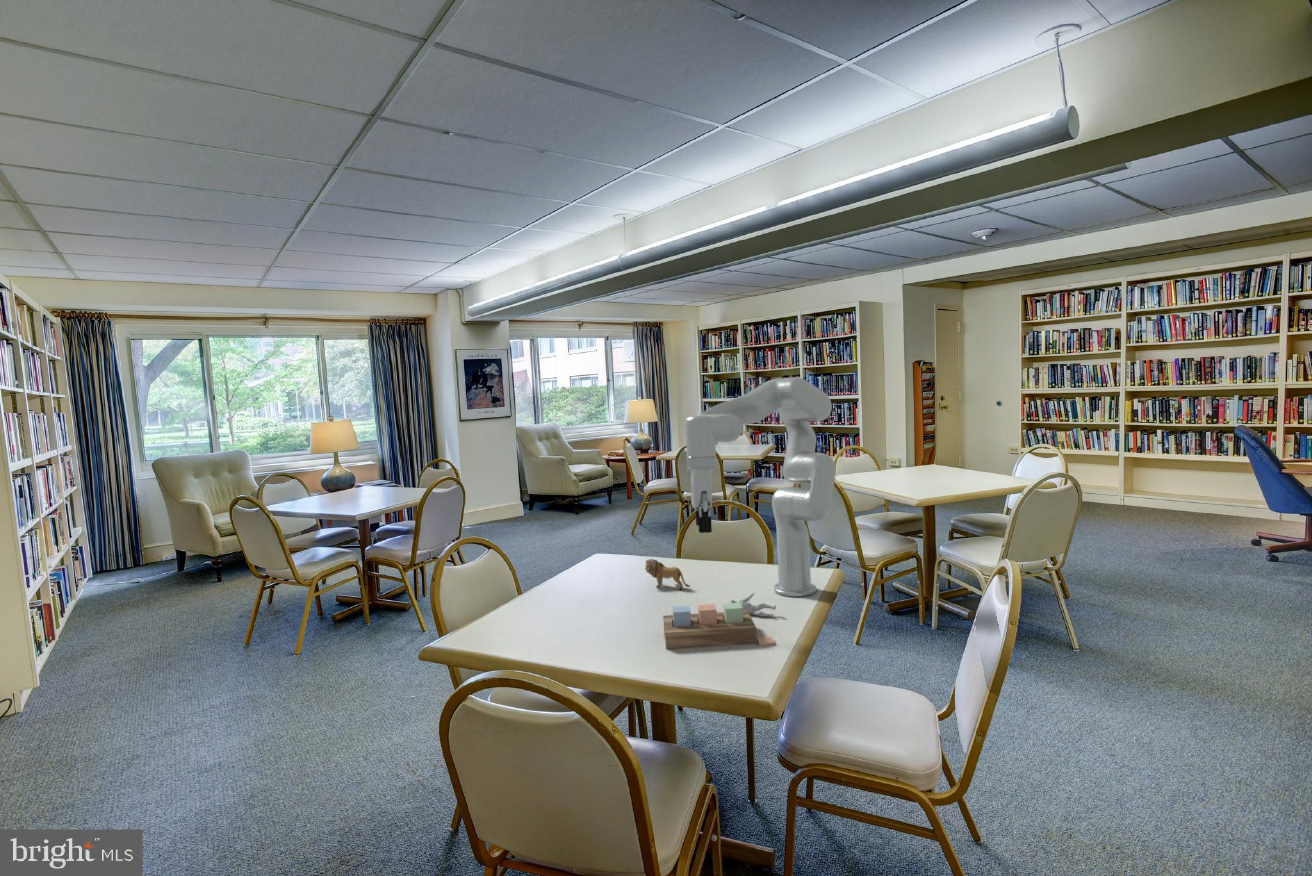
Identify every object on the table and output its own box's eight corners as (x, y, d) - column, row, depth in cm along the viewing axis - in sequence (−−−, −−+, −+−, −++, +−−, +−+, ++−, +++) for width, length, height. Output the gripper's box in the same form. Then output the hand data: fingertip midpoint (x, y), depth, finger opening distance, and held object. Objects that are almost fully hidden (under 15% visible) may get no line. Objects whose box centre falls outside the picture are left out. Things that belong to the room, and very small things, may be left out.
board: (664, 630, 163) (663, 615, 162) (747, 625, 163) (747, 610, 163) (666, 648, 151) (665, 632, 150) (756, 643, 151) (755, 626, 151)
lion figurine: (643, 588, 201) (642, 560, 200) (649, 583, 206) (647, 556, 205) (687, 590, 196) (686, 562, 195) (692, 585, 201) (690, 558, 200)
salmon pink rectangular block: (699, 626, 159) (698, 605, 159) (715, 625, 159) (714, 604, 159) (700, 632, 155) (699, 610, 154) (717, 631, 155) (716, 609, 154)
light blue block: (673, 628, 159) (672, 606, 158) (690, 627, 159) (689, 605, 158) (674, 634, 154) (673, 612, 154) (691, 633, 155) (690, 611, 154)
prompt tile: (756, 640, 153) (756, 637, 153) (771, 639, 153) (771, 636, 153) (759, 645, 149) (759, 643, 149) (774, 644, 150) (774, 642, 150)
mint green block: (724, 624, 159) (723, 603, 159) (740, 623, 159) (739, 602, 159) (726, 630, 155) (725, 609, 154) (743, 629, 155) (742, 608, 155)
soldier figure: (769, 625, 165) (726, 609, 168) (768, 632, 169) (725, 616, 172) (778, 599, 169) (735, 584, 172) (776, 607, 173) (735, 591, 176)
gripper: (685, 461, 171) (687, 523, 171) (688, 466, 153) (691, 536, 154) (712, 460, 171) (714, 522, 171) (719, 465, 153) (721, 534, 154)
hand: (703, 528), depth 163 cm, fingers open, 9 cm apart
